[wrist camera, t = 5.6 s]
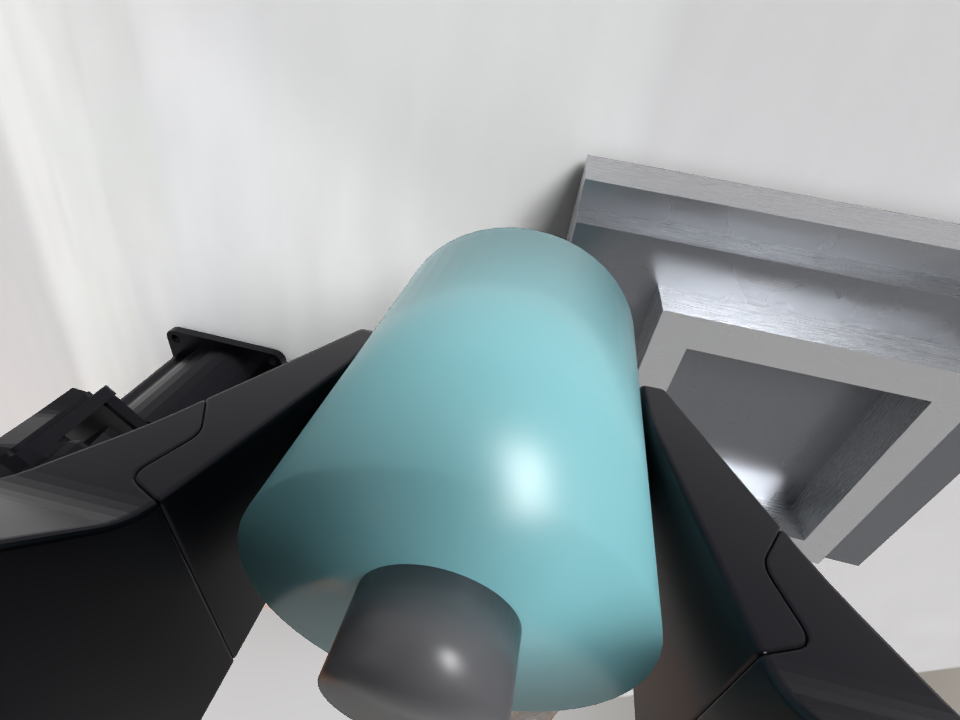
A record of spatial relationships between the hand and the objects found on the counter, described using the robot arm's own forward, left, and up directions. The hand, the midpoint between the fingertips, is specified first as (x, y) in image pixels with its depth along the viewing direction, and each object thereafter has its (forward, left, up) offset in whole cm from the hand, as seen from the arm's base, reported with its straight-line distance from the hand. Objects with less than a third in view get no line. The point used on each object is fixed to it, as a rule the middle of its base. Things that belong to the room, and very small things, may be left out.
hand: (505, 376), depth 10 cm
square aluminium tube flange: (+8, -5, -11) cm, 14 cm away
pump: (0, 0, -1) cm, 1 cm away
